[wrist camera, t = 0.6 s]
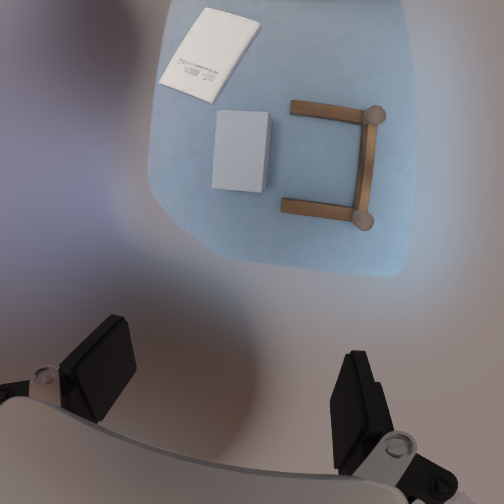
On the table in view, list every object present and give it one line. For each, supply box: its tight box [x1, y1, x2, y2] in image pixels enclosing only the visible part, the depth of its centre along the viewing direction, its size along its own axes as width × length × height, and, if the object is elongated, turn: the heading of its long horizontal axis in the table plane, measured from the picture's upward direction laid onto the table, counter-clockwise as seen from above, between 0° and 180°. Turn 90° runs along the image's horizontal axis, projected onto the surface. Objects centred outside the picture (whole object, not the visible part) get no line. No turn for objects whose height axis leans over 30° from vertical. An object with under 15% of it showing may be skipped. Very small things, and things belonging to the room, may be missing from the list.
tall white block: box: [211, 110, 272, 193], centre depth 29 cm, size 8×5×6 cm, turn 175°
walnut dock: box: [281, 100, 386, 231], centre depth 28 cm, size 14×10×4 cm
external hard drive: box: [159, 7, 262, 105], centre depth 28 cm, size 2×8×12 cm
